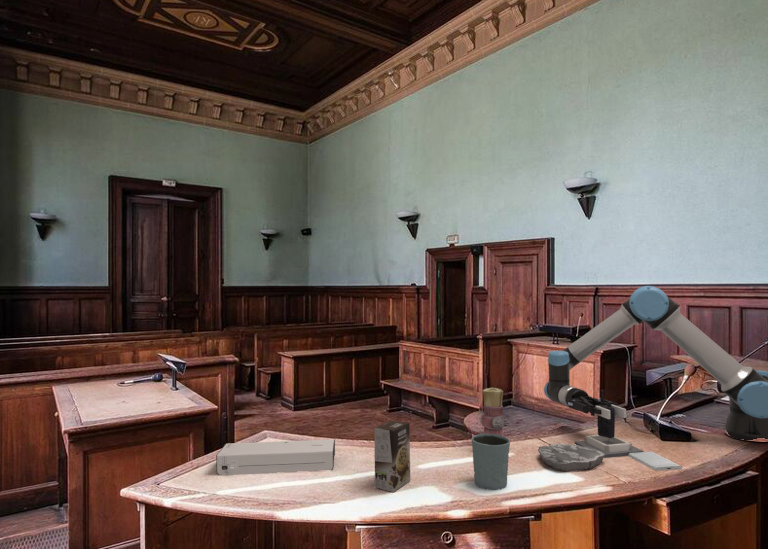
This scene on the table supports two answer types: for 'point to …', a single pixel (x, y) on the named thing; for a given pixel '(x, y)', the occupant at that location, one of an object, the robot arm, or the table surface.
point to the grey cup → (490, 460)
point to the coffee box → (392, 455)
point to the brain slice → (570, 457)
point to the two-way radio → (606, 420)
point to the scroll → (492, 411)
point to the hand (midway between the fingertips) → (617, 414)
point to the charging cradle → (609, 446)
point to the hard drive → (654, 461)
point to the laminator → (275, 457)
